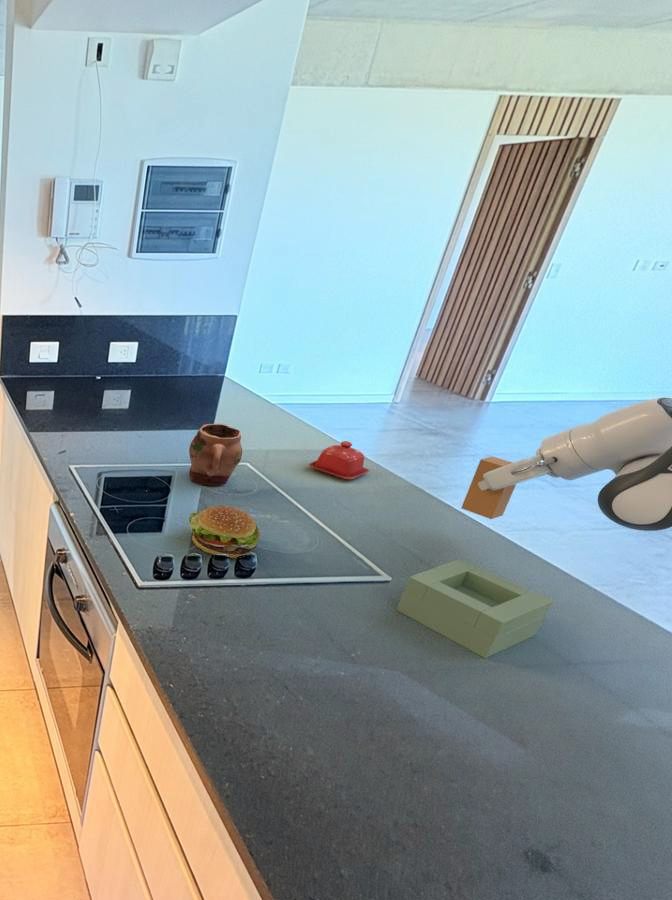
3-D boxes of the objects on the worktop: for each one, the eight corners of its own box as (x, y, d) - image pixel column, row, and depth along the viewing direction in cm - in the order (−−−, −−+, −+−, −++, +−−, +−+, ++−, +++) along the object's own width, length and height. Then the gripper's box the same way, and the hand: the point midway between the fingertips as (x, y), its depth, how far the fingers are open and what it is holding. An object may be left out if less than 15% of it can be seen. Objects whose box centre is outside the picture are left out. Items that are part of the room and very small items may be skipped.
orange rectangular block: (472, 504, 130) (492, 456, 125) (502, 515, 125) (524, 465, 121) (460, 508, 129) (480, 459, 124) (491, 519, 124) (512, 468, 119)
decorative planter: (240, 501, 147) (253, 446, 140) (186, 495, 149) (197, 442, 143) (229, 469, 164) (240, 419, 158) (181, 465, 167) (190, 415, 160)
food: (194, 522, 137) (200, 490, 133) (261, 540, 130) (270, 507, 126) (174, 548, 127) (181, 514, 123) (246, 569, 120) (256, 533, 116)
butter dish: (371, 474, 161) (381, 443, 157) (349, 484, 155) (359, 453, 152) (326, 460, 170) (335, 431, 166) (304, 469, 164) (312, 439, 160)
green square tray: (535, 635, 102) (553, 600, 98) (484, 658, 96) (502, 622, 93) (445, 591, 113) (459, 558, 110) (396, 610, 108) (409, 576, 105)
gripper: (547, 480, 108) (466, 507, 120) (608, 461, 115) (525, 489, 128) (527, 448, 110) (449, 478, 122) (589, 432, 117) (509, 462, 129)
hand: (489, 484), depth 125 cm, fingers closed on orange rectangular block, 4 cm apart
